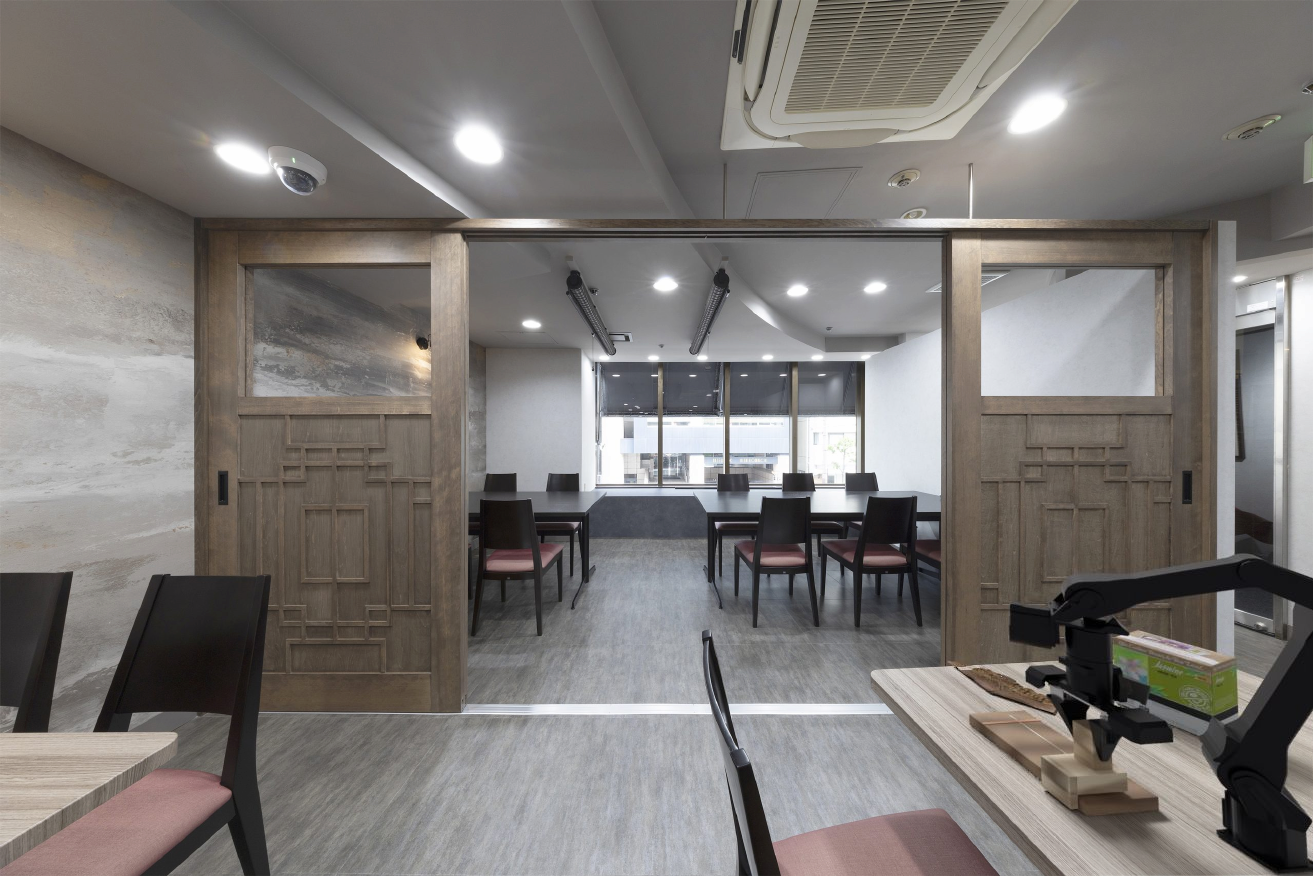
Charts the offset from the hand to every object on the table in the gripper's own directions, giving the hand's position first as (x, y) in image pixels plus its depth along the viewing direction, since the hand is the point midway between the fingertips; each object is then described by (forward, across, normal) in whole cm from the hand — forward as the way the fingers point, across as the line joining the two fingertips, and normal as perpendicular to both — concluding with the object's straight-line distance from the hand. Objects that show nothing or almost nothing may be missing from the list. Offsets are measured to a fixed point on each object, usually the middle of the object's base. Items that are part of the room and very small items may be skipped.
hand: (1092, 753), depth 75 cm
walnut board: (+7, +9, -1) cm, 11 cm away
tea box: (+7, +18, -38) cm, 43 cm away
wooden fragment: (+7, +35, -13) cm, 38 cm away
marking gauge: (+6, 0, +2) cm, 7 cm away
